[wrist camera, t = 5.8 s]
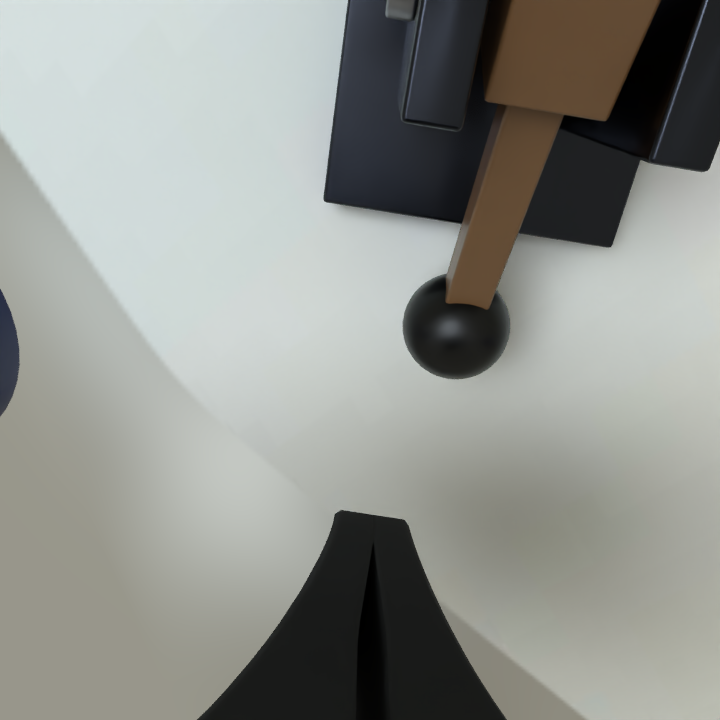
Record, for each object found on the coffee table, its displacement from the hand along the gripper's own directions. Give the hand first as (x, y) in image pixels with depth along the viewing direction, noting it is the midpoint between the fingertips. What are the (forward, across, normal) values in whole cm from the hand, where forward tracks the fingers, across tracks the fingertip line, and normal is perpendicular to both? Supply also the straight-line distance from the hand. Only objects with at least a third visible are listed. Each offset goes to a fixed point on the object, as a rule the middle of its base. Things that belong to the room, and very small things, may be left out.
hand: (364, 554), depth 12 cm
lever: (+6, -2, -7) cm, 9 cm away
